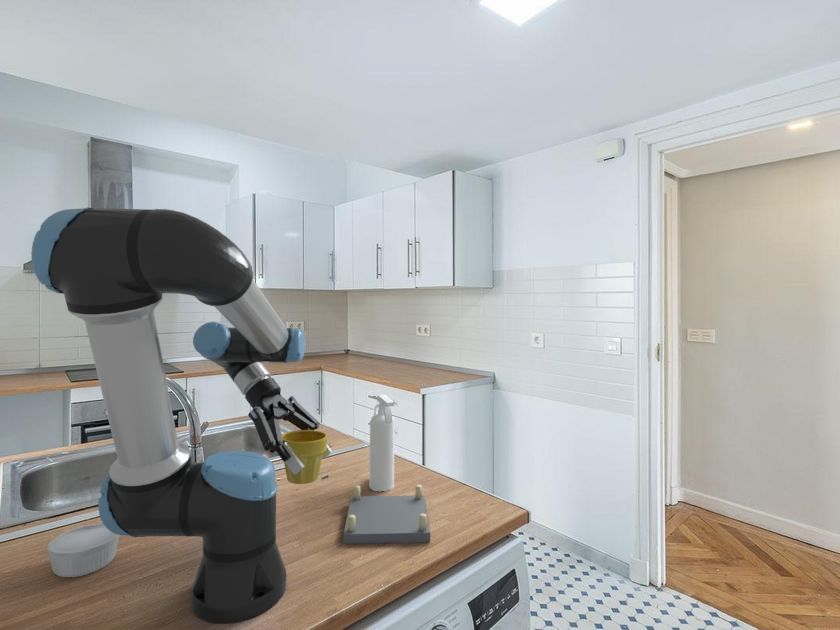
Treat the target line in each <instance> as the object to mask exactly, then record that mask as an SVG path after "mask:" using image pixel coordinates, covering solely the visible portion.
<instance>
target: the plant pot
mask: <svg viewBox="0 0 840 630" xmlns="http://www.w3.org/2000/svg"><path fill="white" fill-rule="evenodd" d="M281 435H282V440H283V443H282V444H284V443H285V442H287V443H288V445H289V446H290V447H291V449H292V450H293V451H294V453H295V454H296V455H297V457H298V458H299V460H300V461H301V462H302V464H303V465H304V467H303V468H302V469H301V470H300V471H299V472H298V473H297V474H296V475H294V474H293V472H292V471H291V469H290V468H289V467H288V465H287V464H286V462H284V461H283V464H284V470H285V474H286V479H287V481H288V483H291V484H294V485H305V484H311V483H313V482H316V481H317V480H318V478H319V475H320V470H321V464H322V461H323V458H322V457H323V453H324V452H325V451H326V448H327V445H328V435H327V434H326V432H325V431H322V430H321V431H320V430H318V431H316V430H301V429H299V430H293V431H287V432H285V433H283V434H282V433H281Z"/></svg>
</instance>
